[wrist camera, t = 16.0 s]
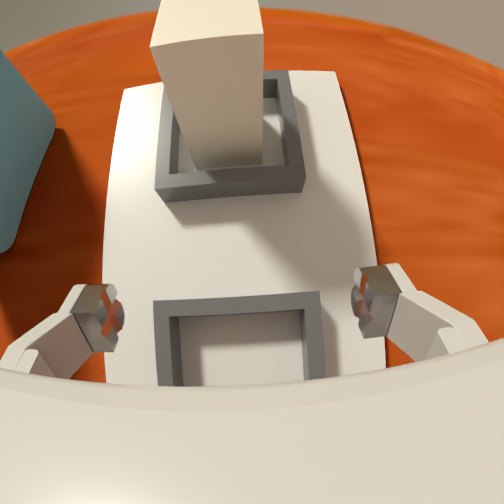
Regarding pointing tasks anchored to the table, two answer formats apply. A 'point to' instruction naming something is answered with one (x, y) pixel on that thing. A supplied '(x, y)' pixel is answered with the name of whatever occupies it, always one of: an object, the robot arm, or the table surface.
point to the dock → (238, 245)
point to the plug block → (213, 77)
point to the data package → (19, 146)
